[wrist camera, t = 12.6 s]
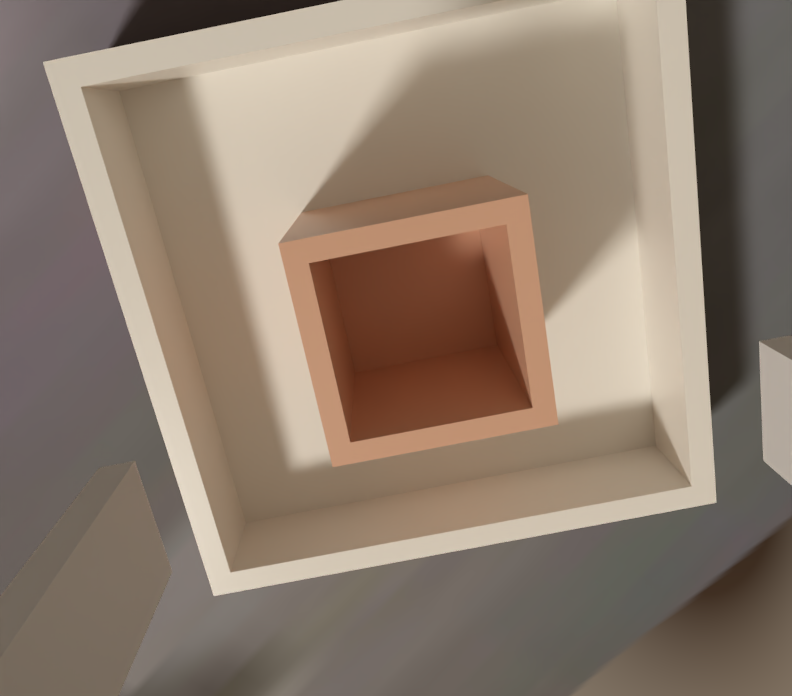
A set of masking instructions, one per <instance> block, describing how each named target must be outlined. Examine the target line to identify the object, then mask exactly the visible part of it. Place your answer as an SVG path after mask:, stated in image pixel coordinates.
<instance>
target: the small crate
mask: <svg viewBox="0 0 792 696" xmlns="http://www.w3.org/2000/svg"><path fill="white" fill-rule="evenodd" d="M278 245H279V249H280V253H281V257H282V261H283V266H284V270H285V274H286V278H287V282H288V286H289V290H290V294H291V298H292V302H293V307H294V311H295V315H296V319H297V323H298V327H299V331H300V335H301V339H302V343H303V348H304V352H305V356H306V360H307V364H308V368H309V372H310V376H311V380H312V385H313V389H314V393H315V397H316V401H317V405H318V409H319V413H320V417H321V421H322V426H323V430H324V434H325V438H326V442H327V446H328V450H329V454H330V458H331V462H332V467H337V466H342V465H348V464H353V463H358V462H363V461H369V460H374V459H379V458H385V457H390V456H395V455H400V454H406V453H411V452H416V451H421V450H427V449H432V448H437V447H443V446H448V445H453V444H458V443H464V442H469V441H474V440H479V439H485V438H490V437H495V436H501V435H506V434H511V433H516V432H522V431H527V430H532V429H537V428H543V427H548V426H553V425H559V424H558V417H557V409H556V402H555V394H554V387H553V379H552V372H551V364H550V357H549V349H548V342H547V334H546V327H545V319H544V312H543V304H542V297H541V289H540V281H539V274H538V266H537V259H536V251H535V244H534V236H533V229H532V221H531V214H530V206H529V199H528V194H527V193H524V192H522V191H520V190H518V189H516V188H514V187H512V186H510V185H508V184H505V183H503V182H501V181H499V180H497V179H495V178H493V177H491V176H488V175H487V176H482V177H477V178H472V179H467V180H462V181H457V182H452V183H447V184H442V185H437V186H432V187H427V188H422V189H417V190H412V191H407V192H402V193H397V194H392V195H387V196H382V197H377V198H371V199H366V200H361V201H356V202H351V203H346V204H341V205H336V206H331V207H326V208H321V209H316V210H311V211H306V212H301V214H300V215H299V216H298V218H297V219H296V220H295V222H294V223H293V224H292V226H291V227H290V228H289V230H288V231H287V232H286V234H285V235H284V236H283V238H282V239H281V240H280V242H279V243H278Z"/></svg>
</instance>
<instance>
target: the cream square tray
mask: <svg viewBox="0 0 792 696" xmlns="http://www.w3.org/2000/svg"><path fill="white" fill-rule="evenodd" d="M43 64H44V67H45V70H46V74H47V77H48V80H49V83H50V86H51V89H52V92H53V95H54V99H55V102H56V105H57V108H58V111H59V114H60V117H61V120H62V124H63V127H64V130H65V133H66V136H67V139H68V142H69V145H70V149H71V152H72V155H73V158H74V161H75V164H76V167H77V170H78V173H79V177H80V180H81V183H82V186H83V189H84V192H85V195H86V198H87V202H88V205H89V208H90V211H91V214H92V217H93V220H94V223H95V227H96V230H97V233H98V236H99V239H100V242H101V245H102V248H103V251H104V255H105V258H106V261H107V264H108V267H109V270H110V273H111V276H112V280H113V283H114V286H115V289H116V292H117V295H118V298H119V301H120V305H121V308H122V311H123V314H124V317H125V320H126V323H127V326H128V329H129V333H130V336H131V339H132V342H133V345H134V348H135V351H136V354H137V358H138V361H139V364H140V367H141V370H142V373H143V376H144V379H145V383H146V386H147V389H148V392H149V395H150V398H151V401H152V404H153V408H154V411H155V414H156V417H157V420H158V423H159V426H160V429H161V432H162V436H163V439H164V442H165V445H166V448H167V451H168V454H169V457H170V461H171V464H172V467H173V470H174V473H175V476H176V479H177V482H178V486H179V489H180V492H181V495H182V498H183V501H184V504H185V507H186V510H187V514H188V517H189V520H190V523H191V526H192V529H193V532H194V535H195V539H196V542H197V545H198V548H199V551H200V554H201V557H202V560H203V564H204V567H205V570H206V573H207V576H208V579H209V582H210V585H211V588H212V592H213V595H214V596H217V595H222V594H228V593H233V592H238V591H244V590H249V589H254V588H260V587H265V586H271V585H276V584H281V583H287V582H292V581H297V580H303V579H308V578H314V577H319V576H324V575H330V574H335V573H341V572H346V571H351V570H357V569H362V568H367V567H373V566H378V565H384V564H389V563H394V562H400V561H405V560H410V559H416V558H421V557H427V556H432V555H437V554H443V553H448V552H453V551H459V550H464V549H470V548H475V547H480V546H486V545H491V544H497V543H502V542H507V541H513V540H518V539H523V538H529V537H534V536H540V535H545V534H550V533H556V532H561V531H566V530H572V529H577V528H583V527H588V526H593V525H599V524H604V523H610V522H615V521H620V520H626V519H631V518H636V517H642V516H647V515H653V514H658V513H663V512H669V511H674V510H679V509H685V508H690V507H696V506H701V505H706V504H712V503H716V487H715V471H714V455H713V438H712V422H711V406H710V389H709V373H708V357H707V340H706V324H705V308H704V291H703V275H702V259H701V242H700V226H699V210H698V193H697V177H696V161H695V145H694V128H693V112H692V96H691V79H690V63H689V47H688V30H687V14H686V0H341V1H336V2H331V3H327V4H322V5H317V6H312V7H307V8H302V9H298V10H293V11H288V12H283V13H278V14H273V15H268V16H264V17H259V18H254V19H249V20H244V21H239V22H235V23H230V24H225V25H220V26H215V27H210V28H206V29H201V30H196V31H191V32H186V33H181V34H177V35H172V36H167V37H162V38H157V39H152V40H147V41H143V42H138V43H133V44H128V45H123V46H118V47H114V48H109V49H104V50H99V51H94V52H89V53H85V54H80V55H75V56H70V57H65V58H60V59H56V60H51V61H46V62H43ZM487 175H488V176H491V177H493V178H495V179H497V180H499V181H501V182H503V183H505V184H508V185H510V186H512V187H514V188H516V189H518V190H520V191H522V192H524V193H527V194H528V199H529V206H530V214H531V221H532V229H533V236H534V244H535V251H536V259H537V266H538V274H539V281H540V289H541V297H542V304H543V312H544V319H545V327H546V334H547V342H548V349H549V357H550V364H551V372H552V379H553V387H554V394H555V402H556V409H557V417H558V424H559V425H553V426H548V427H543V428H537V429H532V430H527V431H522V432H516V433H511V434H506V435H501V436H495V437H490V438H485V439H479V440H474V441H469V442H464V443H458V444H453V445H448V446H443V447H437V448H432V449H427V450H421V451H416V452H411V453H406V454H400V455H395V456H390V457H385V458H379V459H374V460H369V461H363V462H358V463H353V464H348V465H342V466H337V467H332V462H331V458H330V454H329V450H328V446H327V442H326V438H325V434H324V430H323V426H322V421H321V417H320V413H319V409H318V405H317V401H316V397H315V393H314V389H313V385H312V380H311V376H310V372H309V368H308V364H307V360H306V356H305V352H304V348H303V343H302V339H301V335H300V331H299V327H298V323H297V319H296V315H295V311H294V307H293V302H292V298H291V294H290V290H289V286H288V282H287V278H286V274H285V270H284V266H283V261H282V257H281V253H280V249H279V245H278V243H279V242H280V240H281V239H282V238H283V236H284V235H285V234H286V232H287V231H288V230H289V228H290V227H291V226H292V224H293V223H294V222H295V220H296V219H297V218H298V216H299V215H300V214H301V212H306V211H311V210H316V209H321V208H326V207H331V206H336V205H341V204H346V203H351V202H356V201H361V200H366V199H371V198H377V197H382V196H387V195H392V194H397V193H402V192H407V191H412V190H417V189H422V188H427V187H432V186H437V185H442V184H447V183H452V182H457V181H462V180H467V179H472V178H477V177H482V176H487Z"/></svg>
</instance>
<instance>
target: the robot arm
mask: <svg viewBox="0 0 792 696" xmlns="http://www.w3.org/2000/svg"><path fill="white" fill-rule="evenodd" d="M759 353H760V381H761V409H762V437H763V461H764V462H766V463H767V464H768V465H769V466H770V467H771V468H772V469H774V470H775V471H776V472H777V473H778V474H779V475H780V476H782V477H783V478H784V479H785V480H786V481H787V482H788V483H790V484H791V485H792V335H789V336H784V337H779V338H773V339H768V340H763V341H759ZM171 573H172V569H171V566H170V563H169V560H168V558H167V555H166V552H165V549H164V546H163V543H162V540H161V537H160V534H159V531H158V528H157V525H156V522H155V519H154V516H153V513H152V510H151V507H150V505H149V502H148V499H147V496H146V493H145V490H144V487H143V484H142V481H141V478H140V475H139V472H138V469H137V466H136V463H135V461H132V462H127V463H122V464H116V465H111V466H106V467H101V468H99V469H98V470H97V471H96V472H95V474H94V475H93V476H92V478H91V479H90V480H89V482H88V483H87V484H86V485H85V487H84V488H83V489H82V491H81V492H80V493H79V495H78V496H77V497H76V498H75V500H74V501H73V502H72V504H71V505H70V506H69V508H68V509H67V510H66V511H65V513H64V514H63V515H62V517H61V518H60V519H59V521H58V522H57V523H56V524H55V526H54V527H53V528H52V530H51V531H50V532H49V534H48V535H47V536H46V537H45V539H44V540H43V541H42V543H41V544H40V545H39V547H38V548H37V549H36V550H35V552H34V553H33V554H32V556H31V557H30V558H29V560H28V561H27V562H26V563H25V565H24V566H23V567H22V569H21V570H20V571H19V573H18V574H17V575H16V576H15V578H14V579H13V580H12V582H11V583H10V584H9V586H8V587H7V588H6V589H5V591H4V592H3V593H2V595H1V596H0V696H118V695H119V693H120V691H121V689H122V686H123V684H124V682H125V679H126V677H127V675H128V672H129V670H130V668H131V665H132V663H133V661H134V659H135V656H136V654H137V652H138V649H139V647H140V645H141V642H142V640H143V638H144V635H145V633H146V631H147V629H148V626H149V624H150V622H151V619H152V617H153V615H154V612H155V610H156V608H157V605H158V603H159V601H160V599H161V596H162V594H163V592H164V589H165V587H166V585H167V582H168V580H169V578H170V575H171Z"/></svg>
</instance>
